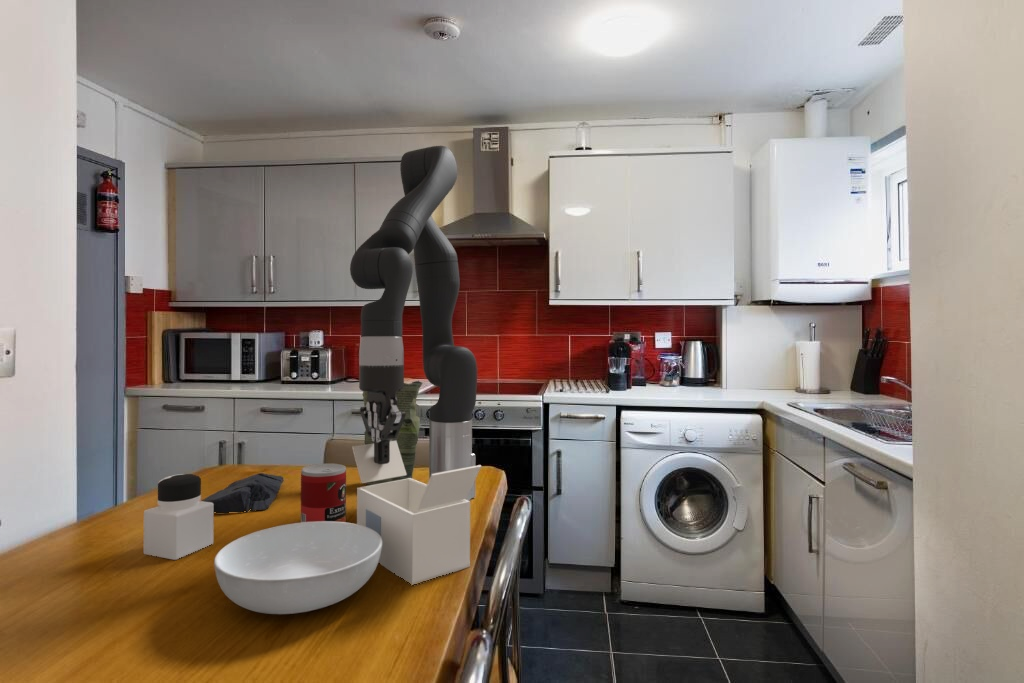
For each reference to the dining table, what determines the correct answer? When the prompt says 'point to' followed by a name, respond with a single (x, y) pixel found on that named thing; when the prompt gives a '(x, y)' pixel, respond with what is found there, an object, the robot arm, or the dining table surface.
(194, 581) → the dining table surface
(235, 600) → the serving bowl
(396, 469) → the far flap
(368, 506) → the carton
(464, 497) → the near flap
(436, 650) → the dining table surface
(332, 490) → the canned food
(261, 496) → the dark slate chunk
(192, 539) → the medicine bottle
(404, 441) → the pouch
